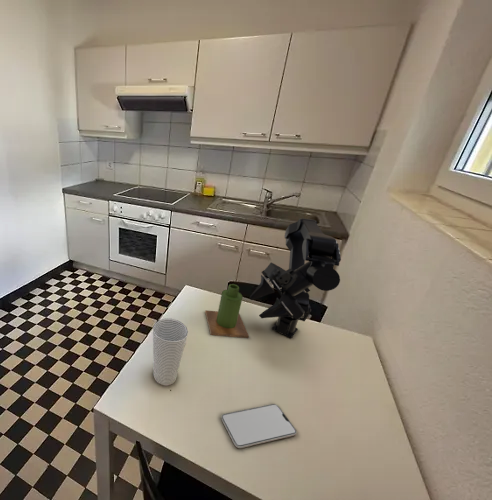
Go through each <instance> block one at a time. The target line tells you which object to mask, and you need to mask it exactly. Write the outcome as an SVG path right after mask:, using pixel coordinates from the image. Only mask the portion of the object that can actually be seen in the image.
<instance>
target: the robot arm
mask: <svg viewBox="0 0 492 500" xmlns="http://www.w3.org/2000/svg"><path fill="white" fill-rule="evenodd" d="M284 239H285V246H286V248H287V249H288V250H289V261H288V269H287V270H286V269H284V268H282V267H281V266H279V265H277V264H276V263H274V262H270V263H269V264H268V265H267V266H266V268H265V269H263V270H262V271H261V275H260V283H259V284H258V286H256V288H255V290H254V291H253V292H252V293H251V294H250V296H249V299H250V300H251V301H253V300H257V299H260V298H263V297H265V296H268V295H272V294H274V293H275V290H276V292H277V293H278V294H279V295H280V297H276V299H275V301H274V303H273V304H272V305H270V306H269V307H268V308H267V309H265V310H263V312H261V313H260V314H259V315H258V316H259V318H260V319H269V318H270V319H271V318H277V320H276V322H275V323H274V324H273V325H272V327H271V330H273V331H275V332H277V333H278V334H281V335H283V336H285V337H287V338H289V339H293V337H294V336H295V334H296V333H297V332H298V330H299V328H297V325H298V322H299V321H301V322H306V320H307V319H308V317H309V315H311V312H312V309H311V304H310V293H309V292H311V289H309V288H311V287H312V286H314V287H316V288H317V289H318V290H321V291H324V292H329V291H333V290H334V289H336V288H337V287H338V286H339V285H340V283H341V277H340V274H339V273H338V271H337V270H336V269H335V268H334V267H339V266H340V262H341V261H342V258H341V250H340V247H339V243H338V240H337V238H335V237H334V236H331V235H328V234H325V233H324V232H323V230H322V229H321V228H320V226H319V225H318V221H317V220H316V219H310V218H305V217H304V218H303V217H302V218H299V219H298V220H297V221H295V222H293V223H290V224H289V225H288V226H287V227H286V229H285V232H284Z"/></svg>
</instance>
